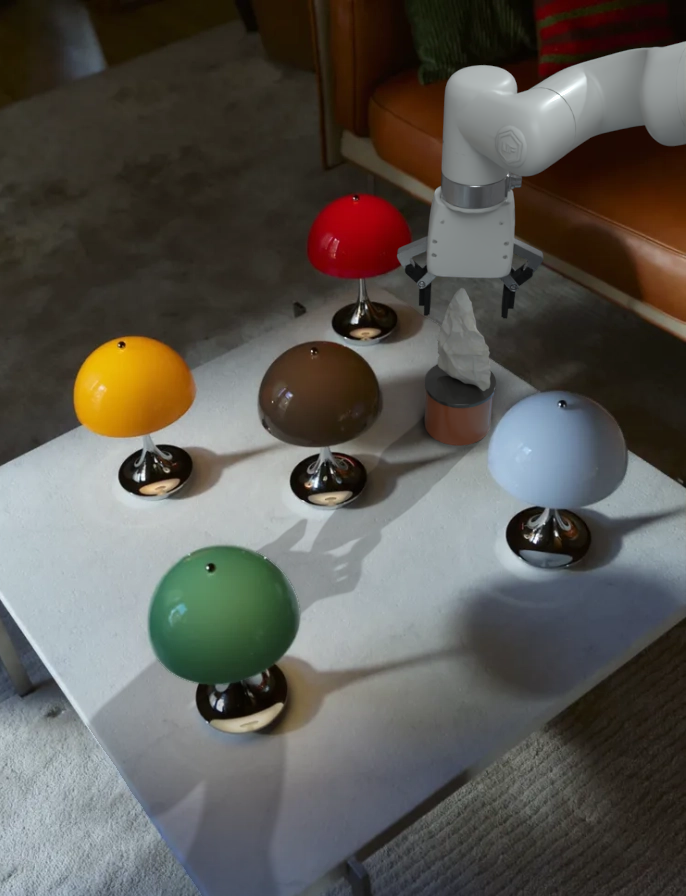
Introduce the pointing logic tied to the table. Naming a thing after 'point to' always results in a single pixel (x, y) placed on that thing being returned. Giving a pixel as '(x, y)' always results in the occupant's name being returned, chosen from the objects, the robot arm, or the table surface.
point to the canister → (457, 408)
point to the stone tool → (463, 344)
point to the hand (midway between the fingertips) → (465, 310)
